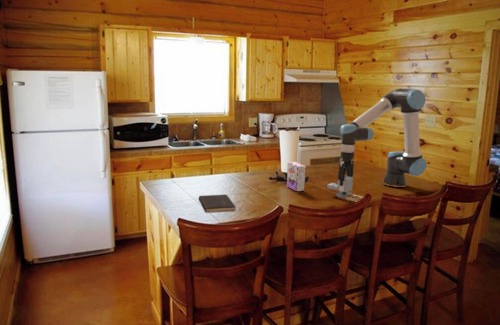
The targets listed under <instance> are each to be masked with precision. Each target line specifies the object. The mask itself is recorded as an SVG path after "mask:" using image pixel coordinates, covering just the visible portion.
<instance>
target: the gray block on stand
mask: <svg viewBox="0 0 500 325" xmlns="http://www.w3.org/2000/svg"><path fill="white" fill-rule="evenodd" d="M353 194H354V193H353V192H351V191H349V192H343V191H338V192H337V191H336V193H335V197H336V196H337V197H341V198H346V197H348V196H351V195H353Z"/></svg>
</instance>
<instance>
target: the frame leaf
mask: <svg viewBox="0 0 500 325" xmlns="http://www.w3.org/2000/svg"><path fill="white" fill-rule="evenodd" d="M363 197H364V196H362V195H359V194H354V193H353V194H352V195H351V196H348V197H346V199H347V200H351V201H354V202H358V201H359V200H360V199H362V198H363Z"/></svg>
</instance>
